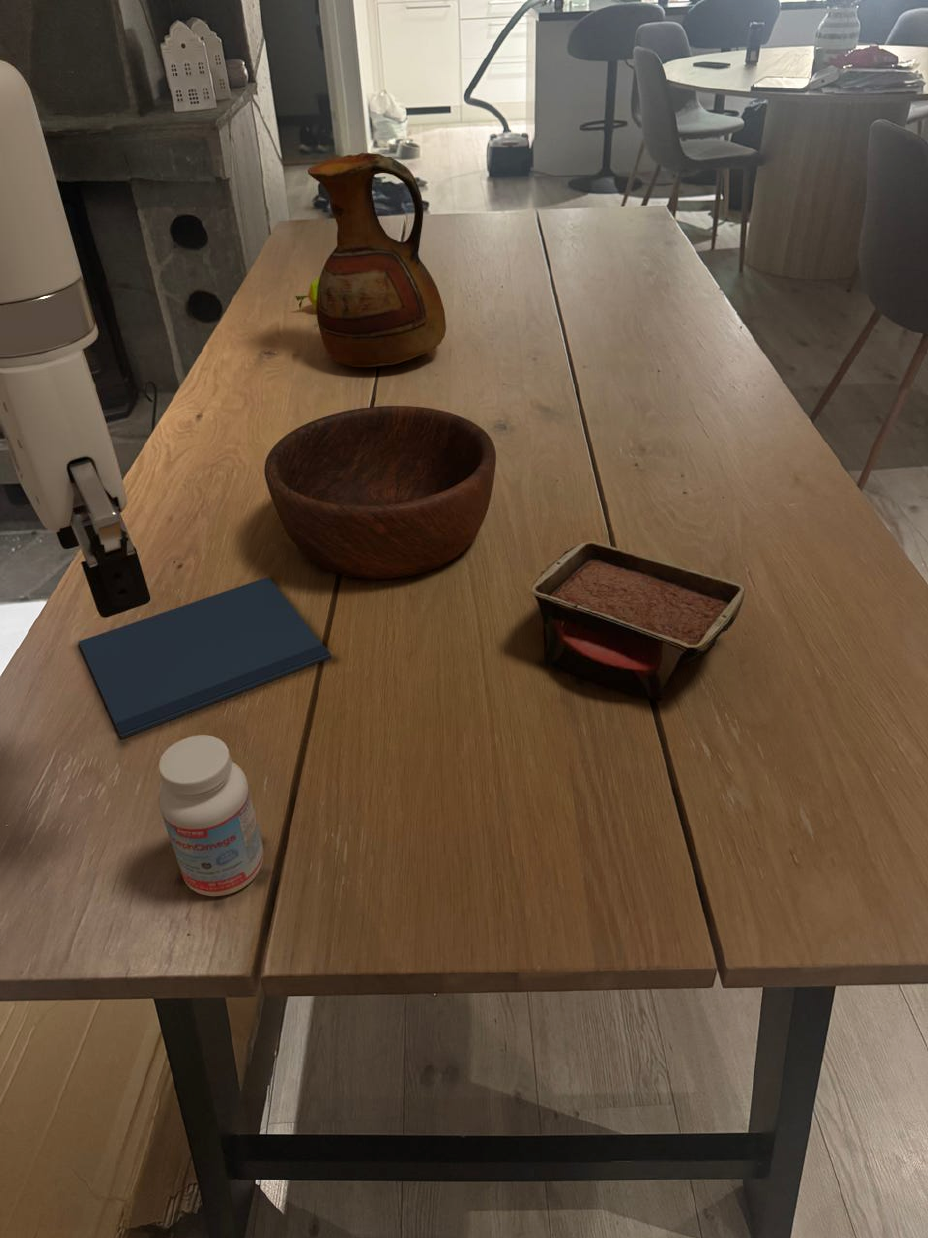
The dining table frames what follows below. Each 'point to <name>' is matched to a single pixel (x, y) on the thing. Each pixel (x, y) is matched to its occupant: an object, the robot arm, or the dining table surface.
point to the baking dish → (629, 616)
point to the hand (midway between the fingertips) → (104, 573)
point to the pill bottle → (209, 816)
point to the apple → (311, 294)
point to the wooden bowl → (382, 489)
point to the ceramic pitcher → (374, 272)
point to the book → (199, 655)
